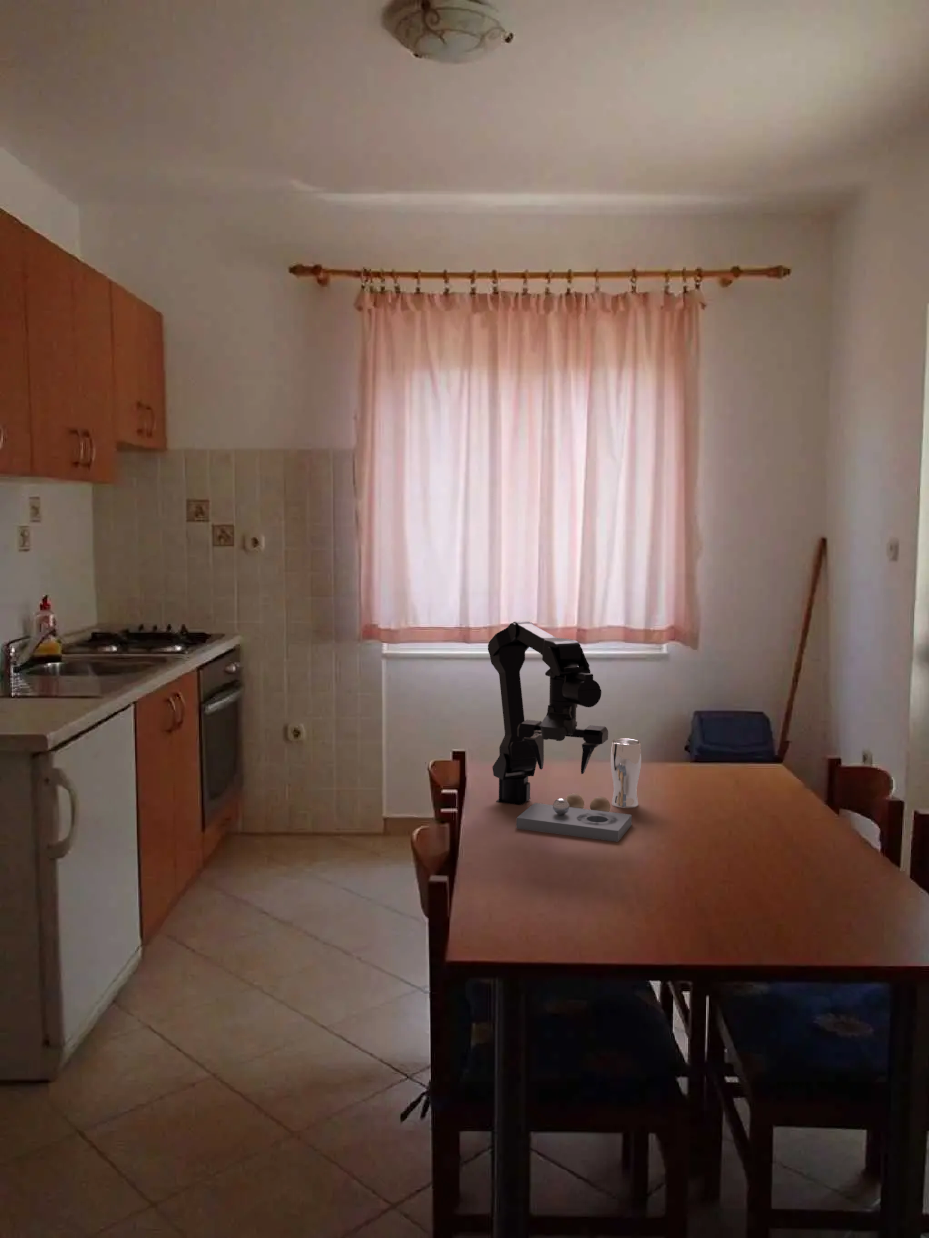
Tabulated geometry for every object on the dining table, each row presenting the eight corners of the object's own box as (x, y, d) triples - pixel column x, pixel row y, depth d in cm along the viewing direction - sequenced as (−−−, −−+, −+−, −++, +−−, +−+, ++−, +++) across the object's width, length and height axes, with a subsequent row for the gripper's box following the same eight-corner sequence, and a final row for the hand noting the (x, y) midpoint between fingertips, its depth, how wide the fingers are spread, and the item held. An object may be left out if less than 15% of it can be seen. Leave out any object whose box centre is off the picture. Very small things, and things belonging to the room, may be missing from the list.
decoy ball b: (587, 817, 207) (587, 798, 207) (592, 812, 211) (593, 792, 211) (607, 820, 205) (607, 800, 205) (612, 814, 209) (612, 795, 209)
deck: (516, 829, 199) (516, 817, 199) (534, 813, 210) (534, 802, 210) (618, 842, 190) (618, 830, 190) (631, 825, 201) (631, 814, 201)
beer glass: (642, 809, 214) (643, 745, 212) (611, 809, 214) (613, 744, 212) (637, 800, 221) (638, 738, 219) (607, 800, 221) (609, 738, 219)
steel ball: (550, 815, 200) (550, 799, 200) (555, 811, 203) (555, 795, 203) (566, 817, 199) (566, 801, 199) (571, 813, 202) (571, 797, 202)
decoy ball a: (561, 814, 209) (561, 795, 209) (567, 809, 213) (567, 790, 213) (580, 817, 208) (581, 797, 207) (586, 811, 212) (586, 792, 211)
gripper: (508, 702, 195) (507, 775, 197) (595, 709, 188) (594, 785, 189) (526, 694, 205) (525, 763, 207) (609, 700, 198) (608, 772, 200)
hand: (561, 771), depth 200 cm, fingers open, 9 cm apart
